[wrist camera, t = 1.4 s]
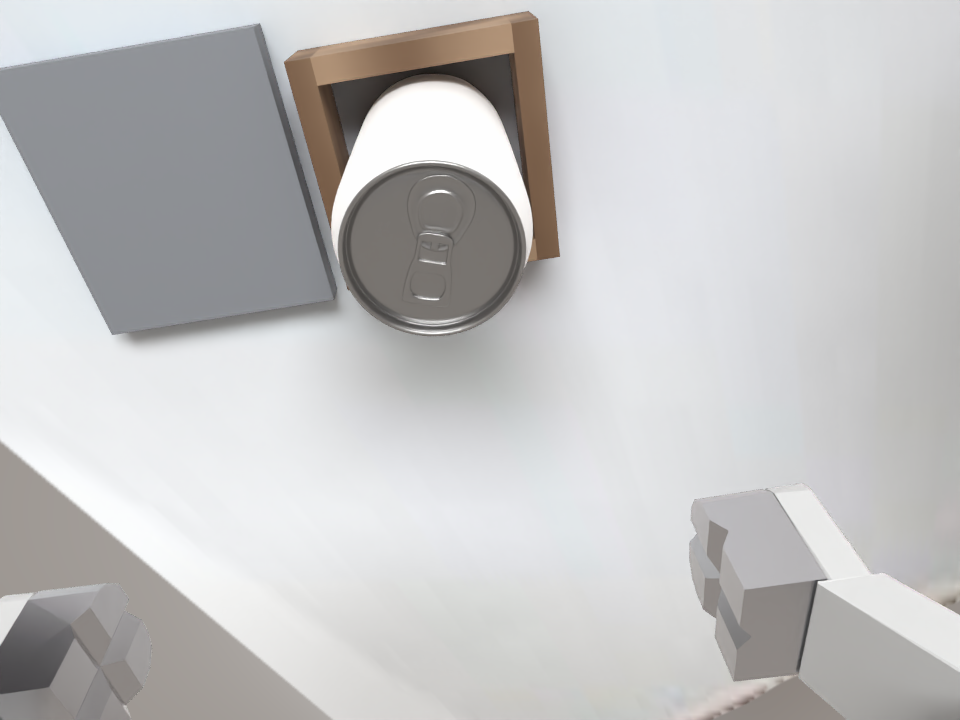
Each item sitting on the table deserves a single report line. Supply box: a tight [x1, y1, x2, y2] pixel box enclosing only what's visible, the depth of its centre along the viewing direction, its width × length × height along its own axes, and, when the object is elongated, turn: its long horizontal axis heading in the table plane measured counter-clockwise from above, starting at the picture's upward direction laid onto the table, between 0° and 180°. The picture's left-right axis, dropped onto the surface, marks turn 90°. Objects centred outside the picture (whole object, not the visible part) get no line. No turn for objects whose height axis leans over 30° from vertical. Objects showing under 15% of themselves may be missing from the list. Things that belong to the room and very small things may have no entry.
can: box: [331, 74, 533, 336], centre depth 25 cm, size 6×6×12 cm
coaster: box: [0, 24, 337, 335], centre depth 30 cm, size 11×12×1 cm
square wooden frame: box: [284, 11, 560, 290], centre depth 29 cm, size 10×10×3 cm
